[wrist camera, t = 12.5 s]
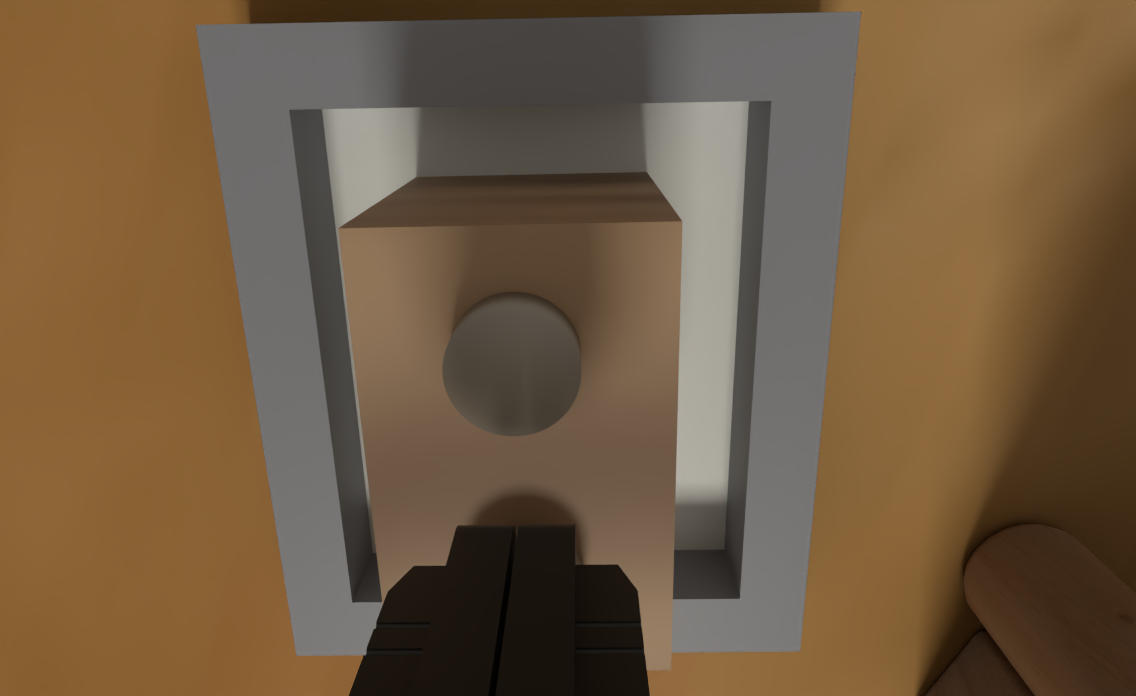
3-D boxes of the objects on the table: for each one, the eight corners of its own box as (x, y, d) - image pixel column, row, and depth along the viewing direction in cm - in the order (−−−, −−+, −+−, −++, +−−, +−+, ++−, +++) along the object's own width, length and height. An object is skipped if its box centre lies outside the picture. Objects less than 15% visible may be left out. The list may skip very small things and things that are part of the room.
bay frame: (249, 31, 17) (195, 24, 14) (820, 20, 17) (861, 11, 14) (327, 590, 21) (296, 655, 19) (774, 586, 21) (799, 651, 19)
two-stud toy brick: (416, 177, 17) (321, 239, 11) (647, 172, 17) (690, 231, 11) (443, 501, 20) (379, 707, 13) (643, 498, 20) (676, 704, 13)
